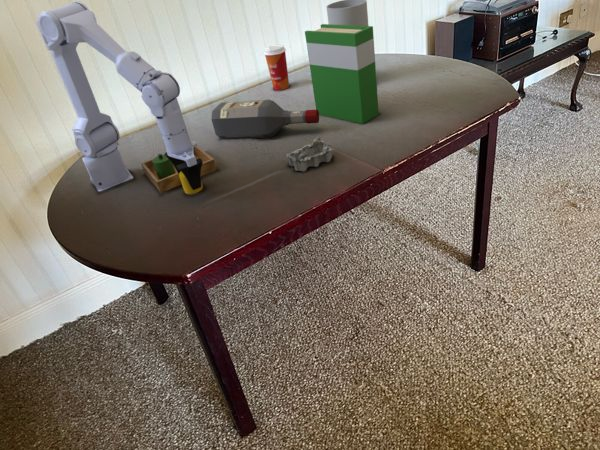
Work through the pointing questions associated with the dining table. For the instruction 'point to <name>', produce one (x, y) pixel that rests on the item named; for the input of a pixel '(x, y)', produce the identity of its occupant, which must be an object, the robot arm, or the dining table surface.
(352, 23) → the cylinder vase
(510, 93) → the dining table surface
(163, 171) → the green pepper
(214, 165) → the wooden tray
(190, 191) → the yellow pepper
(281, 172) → the dining table surface
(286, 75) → the paper cup
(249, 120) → the liquor
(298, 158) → the egg carton
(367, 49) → the hardback book
